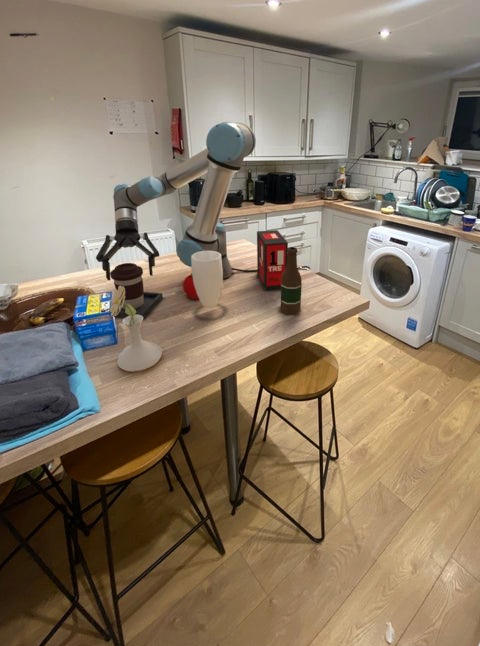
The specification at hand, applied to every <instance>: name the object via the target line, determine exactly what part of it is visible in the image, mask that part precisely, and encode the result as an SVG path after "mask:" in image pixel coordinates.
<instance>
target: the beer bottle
mask: <svg viewBox="0 0 480 646" xmlns="http://www.w3.org/2000/svg"><path fill="white" fill-rule="evenodd" d="M287 252H288V256H287V266H286V269H285V271H284V272H283V274H282V276H281V289H280V312H281V313H283V314H285V315H286V316H287V315H288V316H289V315H292V316H293V315H296V314H298V313H300V312H301V306H302V304H301V303H302V288H303V287H302V276H301V273H300V270H299V269H297V267H298V248H297V247H294V246H290V247H289V246H288V249H287Z"/></svg>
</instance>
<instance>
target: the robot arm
mask: <svg viewBox="0 0 480 646" xmlns="http://www.w3.org/2000/svg"><path fill="white" fill-rule="evenodd" d="M256 145H257V139H256V135H255V132H254V131H253V129H252V128H251V127H250V126H249V125H247V124H245V123H243V122H231V121H223V122H220V123H217V124H215V125H213V126H212V127H211V128H210V130H209V131H208V133H207V135H206V140H205V146H206V148H204V149H203V150H201V151H199V152H198V153H196V154H194V155H193V156H191V157H189V158H188V159H186V160H184V161H182V162H181V163H179V164H177V165H176V166H174V167H172V168H170V169H169V170H167V171H165V172H164V173H162V174H160V175H158V176H155V177H154V176H152V175H151V176H150V175H149V176H147V177H144V178H141V179H140V180H139V181H137V182H135V183H133V184H132V185H131V184H127V183H122V184H117V185H116V186H114V188H113V196H112V198H113V208H114V223H115V224H114V225H115V226H114V227H115V235H114V236H111V235H109V234H106V235H105V239H104V242H103V244H102V245H101V248H100V249H99V251H98V253H97V254H96V256H95V260H96V261H97V262H98V263H101V268H102V270H103V271H104V272H105V278H106V281H111V275H110V273H111V263H110V260H112V257H113V256H115V254H116V253H117V252H118V251H119V250H121V249H122V248H124V249H126V248H134V247H136V248H138V249H139V250H141V252H143V253H144V254H145V255H146V256H147V260H148V273H149V276H150V277H153V276H154V275H153V274H154V273H153V268H154V267H155V266H156V261H155V259H156V258H159V257H160V252H159V250H158V249H157V247H156V246H155V245H154V243H153V242H152V241H151V239H150V237H149V235H148V232H144V233H142V234H139V232H140V231H139V223H138V222H139V221H138V220H139V219H138V207H141V206H143V205H144V204H146V203H148V202H150V201H152V200H155V199H158V198H161V197H163V196H167V195H171V194H173V193H175V192H176V191H177V190H178V189H180V188H182V187H184V186H185V185H187V184H190V183H191V182H193V181H195V180H196V179H198V178H200V177H202V176H204V175H205V178H204V182H203V186H202V188H201V192H200V196H199V200H198V203H197V207H196V210H195V214H194V217H193V221H192V224H189V225H187V226H186V229H185V232H184V235H183V238H182V239H181V240H180V241H179V242H178V243H177V245H176V248H175V253H176V256H177V257H178V258H179V261H180V262H181V263H182V264H184V265H185V266H187V267H190V268H192V264H191V256H192V255H193V254H194V253H197V252H200V251H215V252H218V253H220V254H221V259H222V269H223V280H225V279H228V278H230V277H231V275H232V274H233V271H236V272H237V271H238V272H243V273H254V272H257V269H240V268H236V267H235V268H234V267H232V265H231V263H230V260H229V258H228V252H227V251H228V249H227V231H226V225H225V224H223V223H222V222H219V220H220V218H221V214H222V212H223V209H224V205H225V202H226V199H227V197H228V193H229V190H230V187H231V184H232V182H233V181H232V180H233V178H234V175H235V174H236V173H238V172H240V171H241V168H242V165H243V163H244V159H245V158H247V157H248V156H250V155H251V154H252V153H253V151H254V150H255V148H256ZM141 239H142V241H145V242H146V243H145V244H147V246H148V247H149V248H150V249H148V248H147V247H146V246H145V245H143V244H142V243H141V242H140V241H141ZM114 241H115V242H114ZM113 242H114V244H113V246H112V247H111V248H110V246H111V244H112V243H113ZM109 248H110V249H109ZM300 267H302V268H300ZM305 268H306V269H308V270H311V267H310V266H309V265H303V266H297V270H300V269H305Z"/></svg>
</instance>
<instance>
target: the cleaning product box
mask: <svg viewBox="0 0 480 646" xmlns="http://www.w3.org/2000/svg"><path fill="white" fill-rule="evenodd" d="M288 248H289V242H288V241H287V240H286V238H285V237H284V236H283V235H282V234H281V233H280V232H279V230H278V229H275V230H274V229H271V230H257V231H256V257H257V258H256V262H257V264H256V265H257V267H256V270H257V271H256V272H257V276H258V278H259V280H260V282H261V285H262V286H263V289H264V291H274V290H276V291H277V290H281V276H282V274H283V272H284V271H285V269H286V266H287V256H288V252H287V249H288Z"/></svg>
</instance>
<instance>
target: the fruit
mask: <svg viewBox="0 0 480 646" xmlns="http://www.w3.org/2000/svg"><path fill="white" fill-rule="evenodd" d="M182 289H183V292H184V293H185V295H186V296H187V297H189V298H190V299H193V300H194V299H199V297H198V295H197V292H196V289H195V286H194V282H193V276H192V272H191V273H190V274H189V275H187V276H185V278H184V280H183V282H182Z"/></svg>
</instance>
